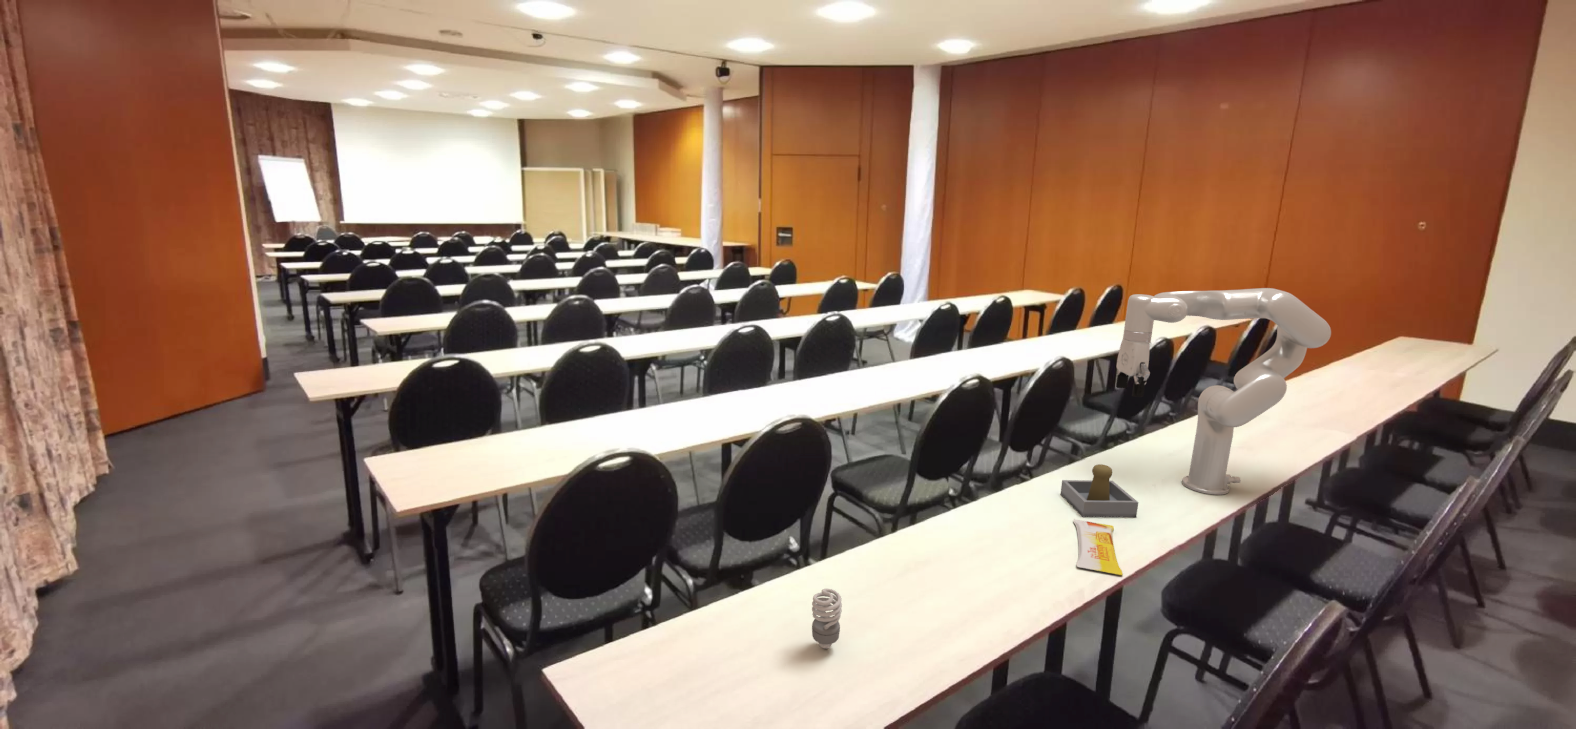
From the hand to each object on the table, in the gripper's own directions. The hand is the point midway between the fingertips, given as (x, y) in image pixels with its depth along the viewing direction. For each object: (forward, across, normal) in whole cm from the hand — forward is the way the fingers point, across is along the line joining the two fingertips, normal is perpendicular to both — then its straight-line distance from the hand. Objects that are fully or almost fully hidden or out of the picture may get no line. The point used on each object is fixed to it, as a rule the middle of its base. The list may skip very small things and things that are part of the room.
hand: (1129, 392), depth 216 cm
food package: (+29, +43, -26) cm, 59 cm away
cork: (+28, +19, -15) cm, 37 cm away
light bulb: (+28, +84, -98) cm, 132 cm away
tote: (+28, +19, -15) cm, 37 cm away
